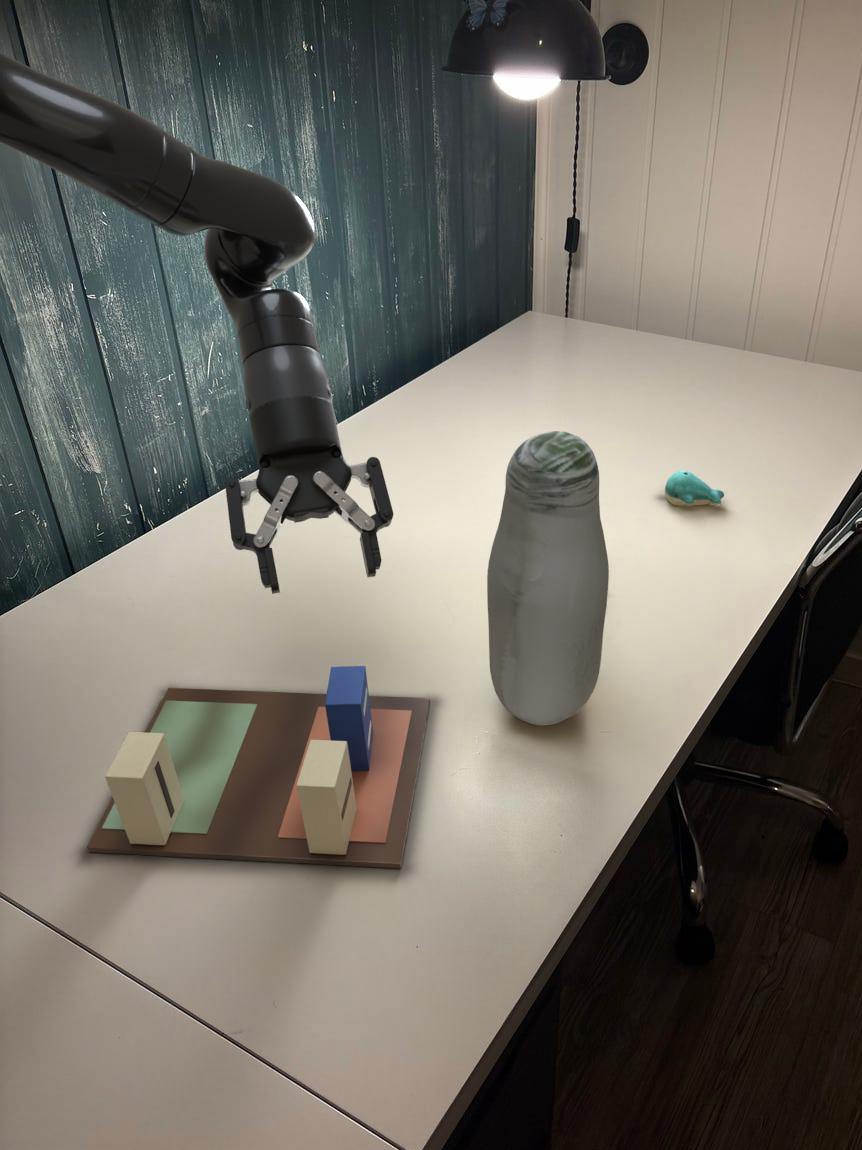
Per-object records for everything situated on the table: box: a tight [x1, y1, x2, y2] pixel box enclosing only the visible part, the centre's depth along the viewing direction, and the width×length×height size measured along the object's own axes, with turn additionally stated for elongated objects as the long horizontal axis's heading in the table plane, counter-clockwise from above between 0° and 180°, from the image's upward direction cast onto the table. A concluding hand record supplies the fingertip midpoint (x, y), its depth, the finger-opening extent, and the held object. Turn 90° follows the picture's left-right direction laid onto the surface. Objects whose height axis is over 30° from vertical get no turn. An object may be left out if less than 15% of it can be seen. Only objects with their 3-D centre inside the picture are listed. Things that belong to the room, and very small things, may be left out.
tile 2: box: [296, 740, 357, 855], centre depth 76 cm, size 3×5×8 cm, turn 175°
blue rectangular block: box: [325, 665, 373, 771], centre depth 83 cm, size 3×5×8 cm, turn 1°
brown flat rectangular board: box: [86, 687, 431, 869], centre depth 85 cm, size 26×20×1 cm
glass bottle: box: [486, 430, 610, 726], centre depth 82 cm, size 10×10×28 cm
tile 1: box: [104, 731, 184, 845], centre depth 77 cm, size 3×5×8 cm, turn 176°
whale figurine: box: [664, 470, 725, 507], centre depth 120 cm, size 6×7×4 cm
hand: (324, 583), depth 84 cm, fingers open, 8 cm apart
